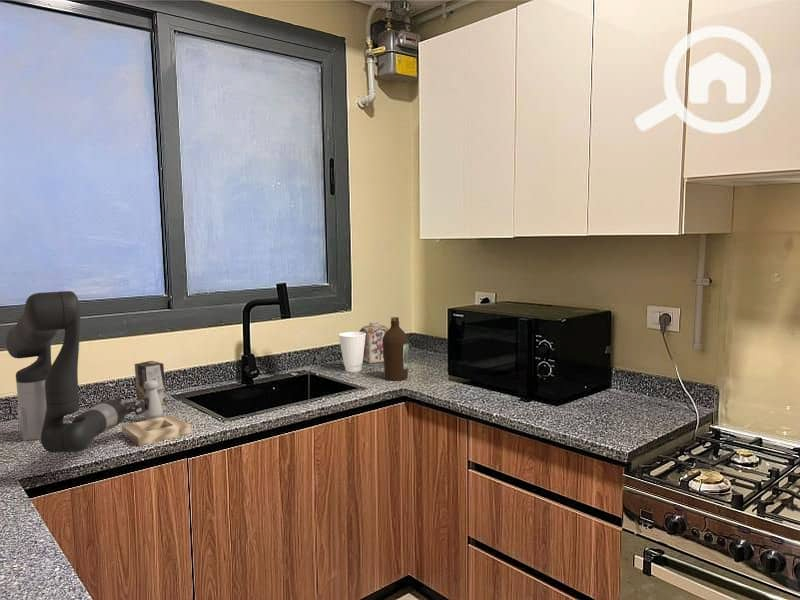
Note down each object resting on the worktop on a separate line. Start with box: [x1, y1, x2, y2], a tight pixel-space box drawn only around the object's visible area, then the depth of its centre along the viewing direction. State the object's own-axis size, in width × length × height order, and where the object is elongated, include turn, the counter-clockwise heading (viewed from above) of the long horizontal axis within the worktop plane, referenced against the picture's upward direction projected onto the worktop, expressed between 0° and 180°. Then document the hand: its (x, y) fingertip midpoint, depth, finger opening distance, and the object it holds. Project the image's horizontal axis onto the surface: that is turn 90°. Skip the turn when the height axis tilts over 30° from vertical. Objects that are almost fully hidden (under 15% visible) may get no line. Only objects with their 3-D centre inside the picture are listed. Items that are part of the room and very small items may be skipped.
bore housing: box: [121, 414, 192, 447], centre depth 172 cm, size 15×15×2 cm
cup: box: [338, 331, 366, 373], centre depth 250 cm, size 12×12×16 cm
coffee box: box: [134, 360, 167, 411], centre depth 197 cm, size 9×6×16 cm
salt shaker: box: [142, 380, 164, 420], centre depth 185 cm, size 6×6×13 cm
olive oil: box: [382, 316, 410, 382], centre depth 233 cm, size 11×11×25 cm
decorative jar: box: [358, 321, 390, 364], centre depth 270 cm, size 12×12×18 cm
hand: (133, 400), depth 174 cm, fingers open, 8 cm apart
